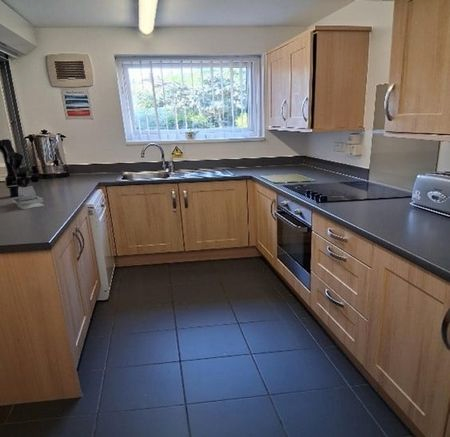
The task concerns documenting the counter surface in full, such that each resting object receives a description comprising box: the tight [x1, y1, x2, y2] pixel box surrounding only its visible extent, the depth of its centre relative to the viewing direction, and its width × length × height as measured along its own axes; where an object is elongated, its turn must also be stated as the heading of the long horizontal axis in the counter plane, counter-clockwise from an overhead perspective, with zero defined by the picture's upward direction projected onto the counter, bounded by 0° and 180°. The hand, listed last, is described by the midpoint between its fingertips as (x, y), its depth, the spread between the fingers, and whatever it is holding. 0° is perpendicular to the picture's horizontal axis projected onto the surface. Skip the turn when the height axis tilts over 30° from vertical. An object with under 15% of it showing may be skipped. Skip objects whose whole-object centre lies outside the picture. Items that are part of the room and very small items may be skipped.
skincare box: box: [18, 185, 36, 201], centre depth 219 cm, size 8×6×15 cm
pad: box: [17, 203, 46, 210], centre depth 217 cm, size 12×12×1 cm
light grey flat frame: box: [12, 195, 44, 207], centre depth 230 cm, size 22×14×2 cm, turn 43°
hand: (26, 189), depth 224 cm, fingers closed
